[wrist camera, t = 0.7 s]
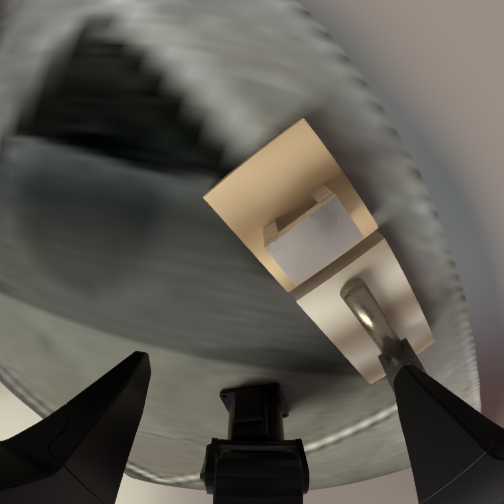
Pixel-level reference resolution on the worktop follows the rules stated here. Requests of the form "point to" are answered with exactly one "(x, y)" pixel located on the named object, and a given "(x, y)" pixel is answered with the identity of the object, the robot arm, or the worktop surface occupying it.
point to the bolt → (379, 328)
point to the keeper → (312, 237)
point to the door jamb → (337, 271)
